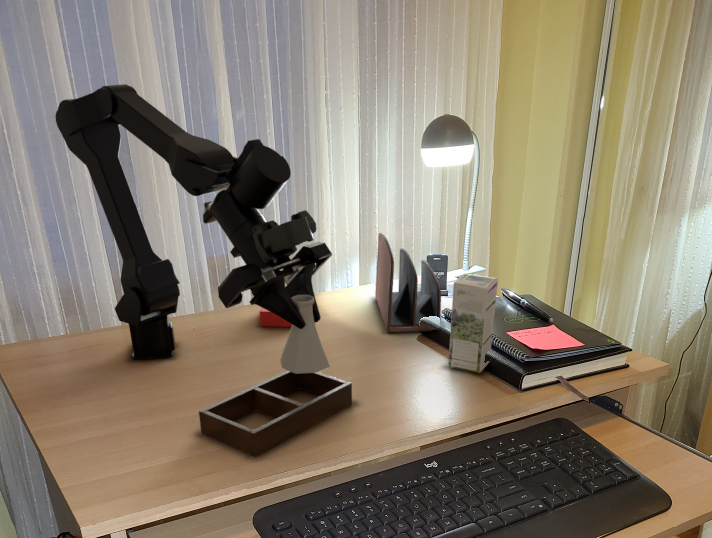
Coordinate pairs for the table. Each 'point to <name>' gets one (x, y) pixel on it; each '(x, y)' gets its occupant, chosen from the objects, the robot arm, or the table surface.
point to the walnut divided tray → (275, 410)
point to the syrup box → (472, 321)
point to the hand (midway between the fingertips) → (310, 324)
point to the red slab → (272, 319)
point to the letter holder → (405, 291)
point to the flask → (304, 342)
